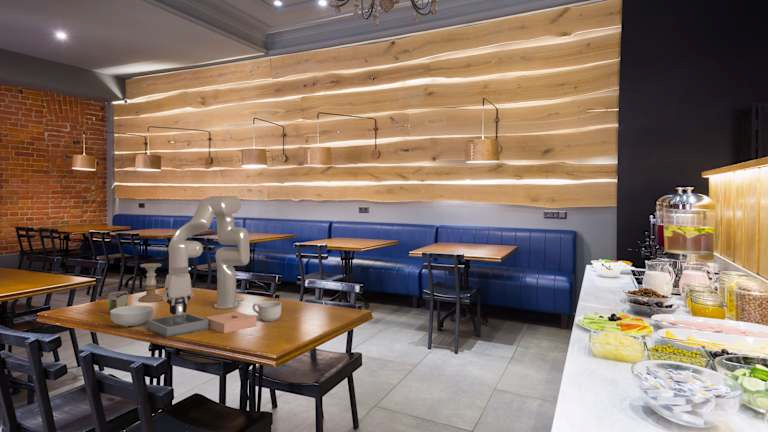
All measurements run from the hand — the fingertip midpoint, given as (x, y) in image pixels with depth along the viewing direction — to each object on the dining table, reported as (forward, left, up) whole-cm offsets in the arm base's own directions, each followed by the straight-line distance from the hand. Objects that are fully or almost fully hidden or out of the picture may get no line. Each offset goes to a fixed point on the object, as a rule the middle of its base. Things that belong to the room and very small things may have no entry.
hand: (178, 312), depth 195 cm
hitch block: (-18, +12, -7) cm, 23 cm away
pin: (0, 0, -5) cm, 5 cm away
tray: (0, 0, -7) cm, 7 cm away
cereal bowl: (+10, -22, -7) cm, 25 cm away
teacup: (-36, +14, -7) cm, 39 cm away
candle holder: (-18, -68, -7) cm, 71 cm away
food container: (+7, -49, -7) cm, 50 cm away
